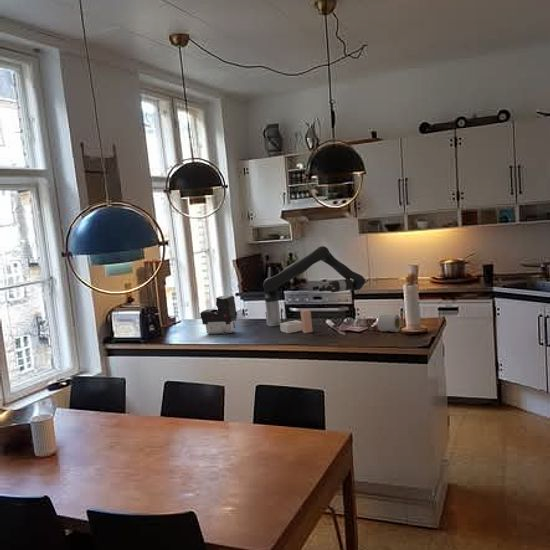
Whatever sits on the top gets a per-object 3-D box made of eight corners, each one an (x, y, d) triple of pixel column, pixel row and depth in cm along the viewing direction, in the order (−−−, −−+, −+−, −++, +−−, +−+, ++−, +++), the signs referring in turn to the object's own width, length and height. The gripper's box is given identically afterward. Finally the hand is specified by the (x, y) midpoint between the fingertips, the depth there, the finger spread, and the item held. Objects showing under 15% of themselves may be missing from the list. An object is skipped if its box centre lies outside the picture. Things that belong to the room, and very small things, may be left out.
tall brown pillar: (305, 333, 345) (303, 311, 344) (302, 332, 349) (300, 310, 347) (312, 332, 347) (310, 310, 346) (309, 331, 351) (307, 309, 350)
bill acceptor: (209, 332, 386) (205, 296, 383) (239, 331, 378) (235, 295, 375) (202, 335, 376) (198, 299, 373) (233, 334, 368) (228, 297, 365)
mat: (296, 334, 347) (296, 334, 347) (308, 330, 356) (308, 329, 356) (307, 336, 341) (306, 335, 341) (319, 331, 349) (319, 330, 349)
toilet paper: (401, 329, 331) (400, 313, 330) (394, 333, 323) (393, 316, 322) (386, 329, 337) (384, 313, 336) (378, 332, 329) (377, 316, 328)
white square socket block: (287, 334, 350) (286, 324, 350) (280, 332, 359) (279, 322, 359) (304, 331, 355) (303, 321, 355) (297, 329, 364) (296, 319, 364)
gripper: (331, 279, 370) (310, 282, 363) (342, 281, 357) (320, 284, 350) (332, 290, 371) (311, 293, 364) (343, 292, 358) (321, 296, 351)
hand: (315, 289), depth 357 cm, fingers open, 8 cm apart
